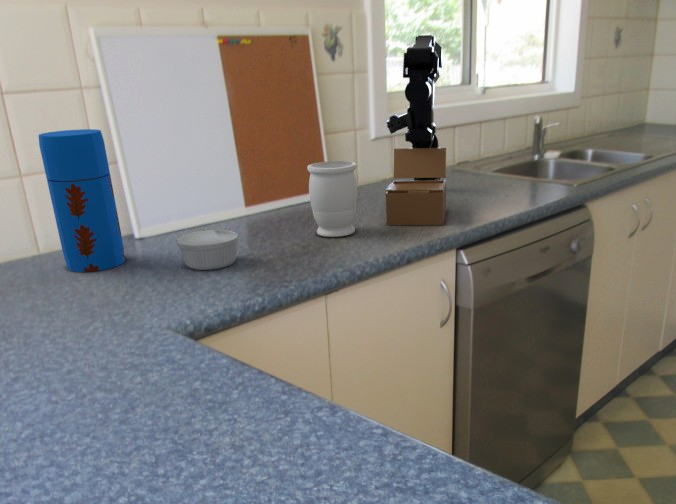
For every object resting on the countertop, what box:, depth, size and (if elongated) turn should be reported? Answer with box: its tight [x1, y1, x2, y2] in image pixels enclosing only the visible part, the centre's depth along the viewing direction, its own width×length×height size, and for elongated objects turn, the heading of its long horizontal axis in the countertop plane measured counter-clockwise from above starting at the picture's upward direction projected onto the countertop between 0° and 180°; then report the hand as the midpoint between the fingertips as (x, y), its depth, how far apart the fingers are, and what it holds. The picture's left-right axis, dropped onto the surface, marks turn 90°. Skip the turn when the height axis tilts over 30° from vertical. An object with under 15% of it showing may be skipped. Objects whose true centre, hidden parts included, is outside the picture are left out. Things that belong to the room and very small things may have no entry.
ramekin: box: [176, 229, 239, 271], centre depth 127 cm, size 11×11×5 cm
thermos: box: [38, 128, 126, 273], centre depth 125 cm, size 11×11×25 cm
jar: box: [307, 160, 359, 238], centre depth 144 cm, size 11×10×15 cm
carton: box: [385, 179, 447, 226], centre depth 156 cm, size 15×13×8 cm
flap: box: [393, 147, 447, 179], centre depth 162 cm, size 7×13×1 cm
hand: (421, 166), depth 168 cm, fingers closed
